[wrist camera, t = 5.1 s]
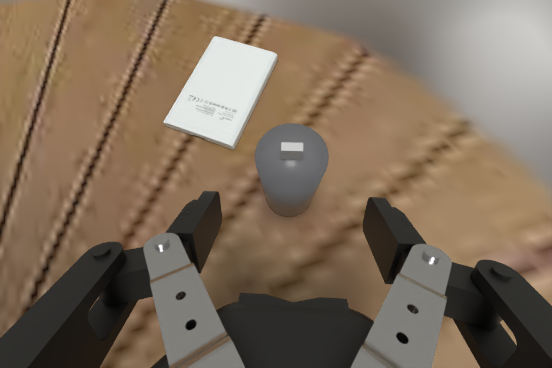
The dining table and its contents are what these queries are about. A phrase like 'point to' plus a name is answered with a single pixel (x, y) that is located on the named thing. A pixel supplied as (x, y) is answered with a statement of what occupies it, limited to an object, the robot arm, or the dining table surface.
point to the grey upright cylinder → (290, 167)
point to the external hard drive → (222, 92)
